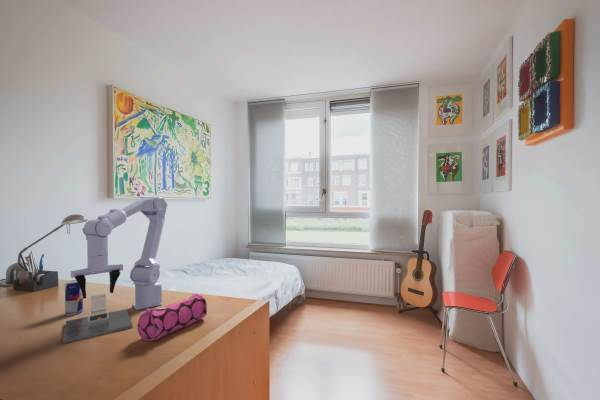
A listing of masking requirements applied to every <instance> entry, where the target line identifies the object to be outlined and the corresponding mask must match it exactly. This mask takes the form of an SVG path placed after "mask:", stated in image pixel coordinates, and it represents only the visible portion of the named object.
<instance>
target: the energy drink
mask: <svg viewBox="0 0 600 400" xmlns="http://www.w3.org/2000/svg"><path fill="white" fill-rule="evenodd" d="M83 303H84V299H83V296H82V291H81V289H80V286H79V284H78V282H77V281H76V279H71V280H69V281H65V284H64V313H65V316H71V317H72V316H76V315H79V314H82V313H83V311H84V304H83Z"/></svg>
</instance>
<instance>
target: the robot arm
mask: <svg viewBox="0 0 600 400" xmlns="http://www.w3.org/2000/svg"><path fill="white" fill-rule="evenodd" d="M167 207H168V203H167V201H166V200H165V198H164V197H162V196H153V197H151V196H147V197H145V196H142V197H140V198H137V199H136V200H135V201H133V202H131V203H130V204H128V205H126V206H125V207H123V208H122V209H119V208H116V209H115V208H111V209H109V212H107V213H105V214H104V215H99V216H98V217H97V218H96V219H88V221H86V223H85V224H84V226H83V228H82V232H83V235H85V240H86V242H87V245H86V247H87V249H86V250H87V251H86V253H87V254H86V255H87V268H82V269H81V268H80V269H76V270H71V271H70V278H71V279H74V280H76V281H77V282H78V284H79V286H80V289H81V291H82V296H83V300H84V299H87V290H86V287H87V285H86V284H87V279H86V276H90V275H97V274H105V273H109V274H108V275H109V293H110V294H114V292H115V291H114V290H115V287H116V285H117V281H118V278H119V277H120V276H121V271H124V265H123V263H122V264H121V263H120V264H119V263H118V264H110V265H109V250H108V249H109V248H108V245H109V244H108V243H109V235H111V233H112V231H113V230H114V229H116V228H118V227H119V226H121V225H122V224H124V223H125V222H126V221H127V218H128V217H129V218H130V216H132V215H135V214H136V213H138V212H141V213H142V214H143V215H144V216H145V217H146V218H147V219H148V220H149V224H148V227H147V232H146V236H145V239H144V240H145V241H144V244H143V248H142V252H141V256H140V258H139V259H138V260H136V262H134V265H133V267H132V269H131V270H130V273H129V279H130V281H132V282H133V285H134V301H135V302H134V303H133V304H132V306H133V308H134V310H135V311H140V310H143V309H147V308H148V309H150V308H153V307H154V308H155V307H158V306H162V305H163V301H162V300H163V299H162V298H163V295H162V294H163V293H162V289H163V288H162V283H161V281H158V280H159V278H160V273H161V272H160V268H161V267H160V266H161V264H160V263H159V262H158V261H157V260H156V259H157V254H158V250H159V246H160V243H161V237H162V233H163V229H164V224H165V219H166V211H167Z"/></svg>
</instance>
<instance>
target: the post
mask: <svg viewBox="0 0 600 400" xmlns="http://www.w3.org/2000/svg"><path fill="white" fill-rule="evenodd" d="M106 297H107V296H106V293H102V294H95V295H91V296H90V316H93V315H98V314H103V313H107V300H106V299H107V298H106Z"/></svg>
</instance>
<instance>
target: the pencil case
mask: <svg viewBox="0 0 600 400" xmlns="http://www.w3.org/2000/svg"><path fill="white" fill-rule="evenodd" d="M207 306H208V304H207V299H206V298H205V297H204V296H203V295H201V294H199V293H194V294H192V295H190V297H188V298H187V299H184V300H182V301H179V302H177V303H173V304H170V305H167V306H165V307H160V308H157V307H154V308H153V309H152V308H145V309H146V310H145V311H144V312H143V313H141V315H139V316H138V317H139V318H138V321H137V333H138V335H139V336H140V338H141V339H143V340H144V341H146V342H152V341H157V340H158V339H161V338H162V337H165V336H167V335H170V334H172V333H174V332H176V331H178V330H180V329H183V328H185V327H189V326H190V325H193V324H194V323H196V322H198V321H200V320H202V319H204V318H205V317H206V316H207V313H208V307H207Z"/></svg>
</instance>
